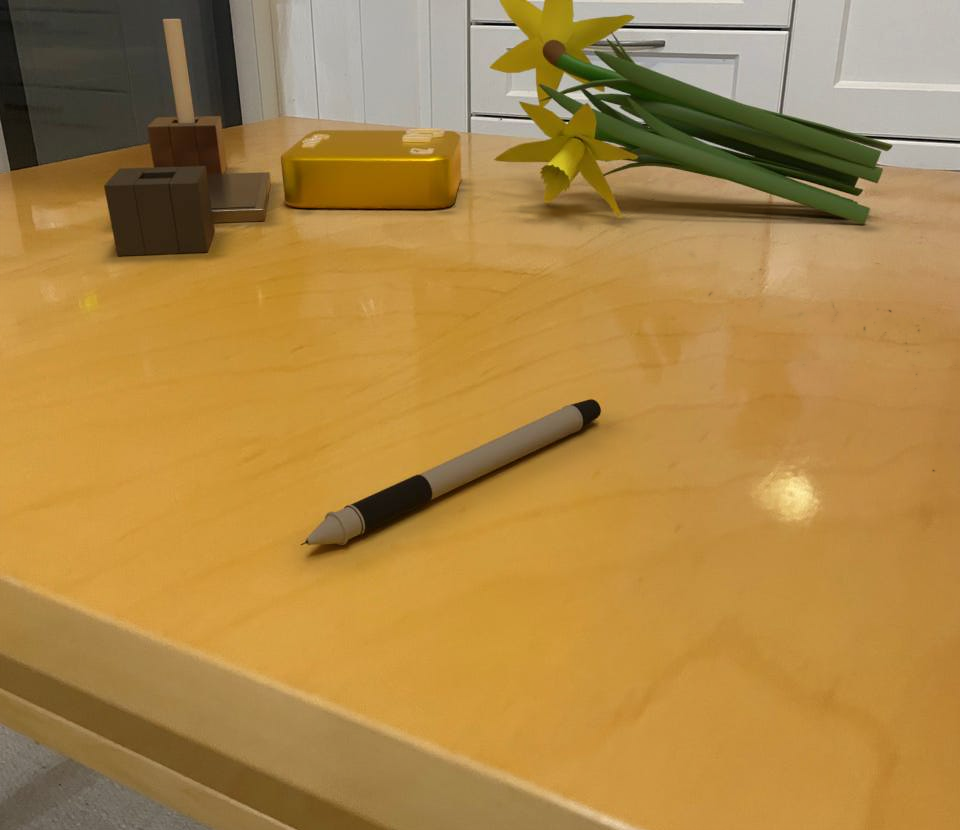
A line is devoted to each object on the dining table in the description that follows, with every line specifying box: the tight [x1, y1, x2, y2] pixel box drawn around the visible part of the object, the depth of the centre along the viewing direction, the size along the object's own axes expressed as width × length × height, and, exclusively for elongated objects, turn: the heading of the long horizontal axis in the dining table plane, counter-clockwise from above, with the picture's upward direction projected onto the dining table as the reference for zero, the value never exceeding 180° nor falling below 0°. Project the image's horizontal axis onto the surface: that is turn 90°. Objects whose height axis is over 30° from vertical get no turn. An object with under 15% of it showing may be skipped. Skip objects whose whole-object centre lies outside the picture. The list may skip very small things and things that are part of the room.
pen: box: [300, 398, 602, 546], centre depth 38 cm, size 1×16×1 cm, turn 136°
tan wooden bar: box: [162, 18, 195, 123], centre depth 92 cm, size 2×2×14 cm
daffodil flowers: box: [489, 0, 893, 225], centre depth 78 cm, size 17×15×35 cm
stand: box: [146, 115, 228, 174], centre depth 94 cm, size 6×6×5 cm
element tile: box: [280, 127, 462, 210], centre depth 86 cm, size 15×15×5 cm
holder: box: [103, 166, 216, 257], centre depth 70 cm, size 6×6×5 cm
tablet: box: [207, 171, 272, 224], centre depth 83 cm, size 12×16×1 cm
